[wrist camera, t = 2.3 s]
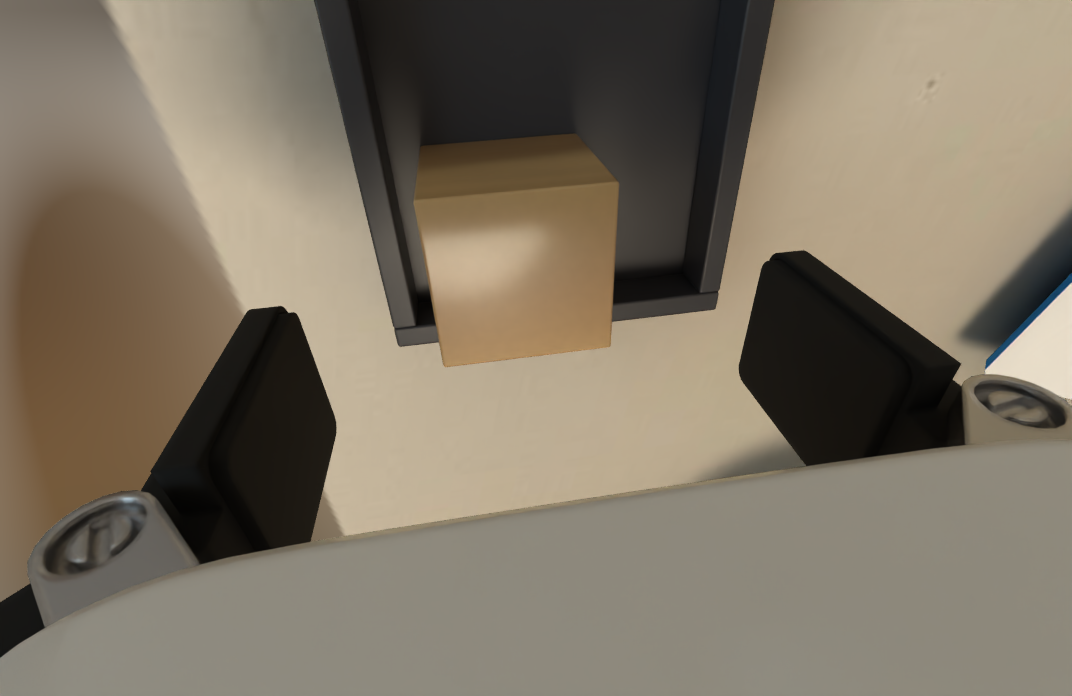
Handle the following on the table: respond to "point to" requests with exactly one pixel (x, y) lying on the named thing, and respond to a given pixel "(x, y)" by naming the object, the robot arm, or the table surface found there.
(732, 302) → the table surface
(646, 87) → the tray
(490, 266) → the block
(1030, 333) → the plate
